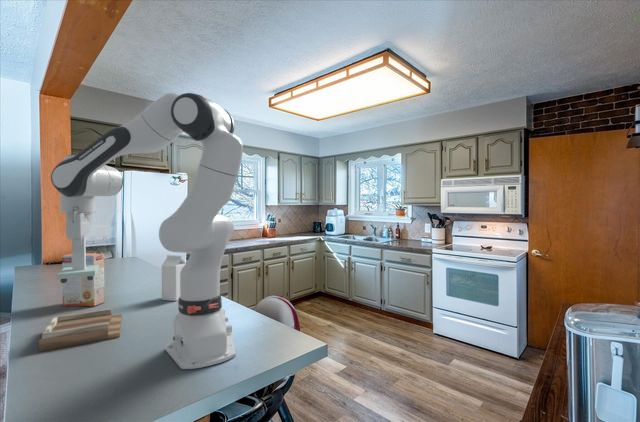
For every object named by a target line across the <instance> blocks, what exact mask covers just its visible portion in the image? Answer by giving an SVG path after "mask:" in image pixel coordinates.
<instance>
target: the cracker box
mask: <svg viewBox="0 0 640 422" xmlns="http://www.w3.org/2000/svg"><path fill="white" fill-rule="evenodd" d="M61 256H62V259H61V261H62V262H61V263H62V265H61V266H62V269H64V268H66V267H72V253H68V254H64V255H61ZM91 265H99V269H98V271H97V273H96V275H95V276H93V280H88V279H87V277H88V276H86V277H76V278H67V282H66V283H62V306H63V307H65V306H66V307H67V306H68V307H69V306H70V307H73V306H74V307H95V306H98V305H102V304H104V303H105V254H104V253H87V252H86V266H91ZM62 269H61V270H62Z"/></svg>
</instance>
